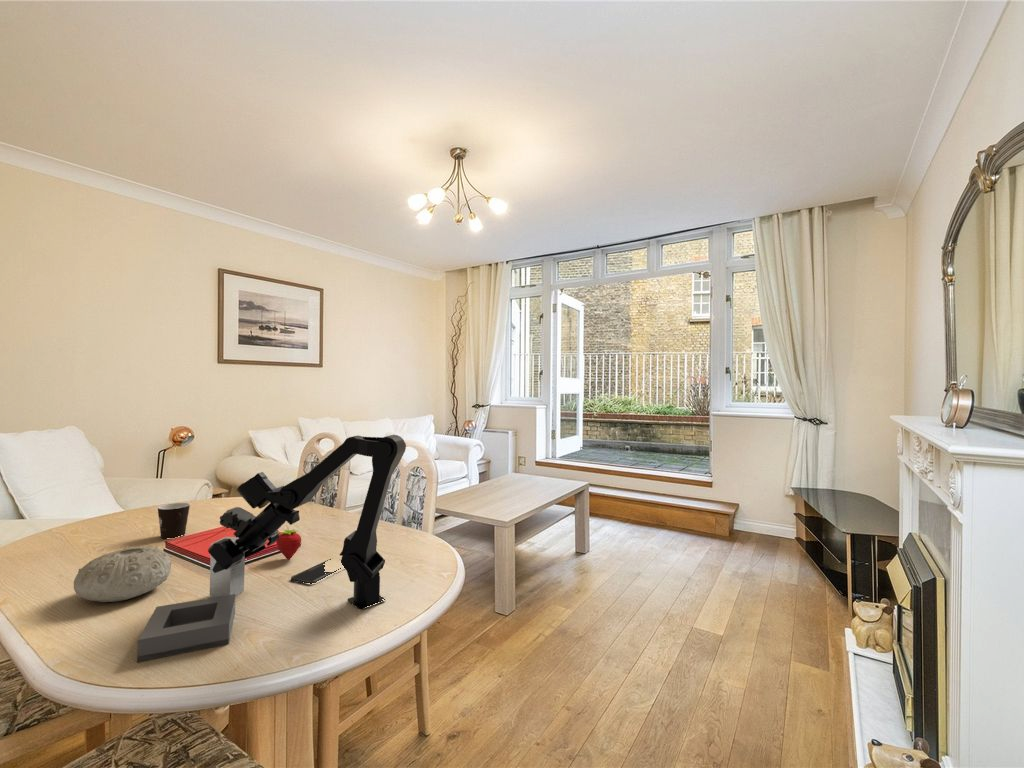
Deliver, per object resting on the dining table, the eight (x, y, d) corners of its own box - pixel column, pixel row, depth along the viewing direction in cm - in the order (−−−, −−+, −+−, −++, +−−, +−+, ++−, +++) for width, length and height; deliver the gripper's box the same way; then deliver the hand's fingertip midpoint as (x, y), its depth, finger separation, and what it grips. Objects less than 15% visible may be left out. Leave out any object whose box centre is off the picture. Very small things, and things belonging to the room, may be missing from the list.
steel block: (244, 590, 110) (245, 537, 111) (229, 600, 105) (231, 544, 106) (224, 590, 111) (225, 536, 111) (209, 599, 106) (210, 543, 106)
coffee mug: (160, 533, 152) (161, 504, 153) (191, 531, 156) (192, 501, 156) (150, 544, 142) (151, 512, 142) (183, 541, 145) (184, 510, 146)
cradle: (235, 612, 100) (235, 593, 100) (228, 643, 87) (229, 623, 88) (156, 626, 94) (156, 606, 94) (136, 662, 81) (137, 640, 81)
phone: (353, 562, 128) (312, 582, 114) (353, 566, 128) (312, 587, 114) (331, 558, 131) (288, 577, 117) (331, 562, 131) (288, 581, 117)
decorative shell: (51, 615, 97) (53, 568, 98) (102, 581, 114) (103, 541, 115) (149, 606, 102) (150, 561, 102) (183, 575, 119) (184, 537, 119)
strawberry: (288, 565, 127) (289, 529, 127) (270, 560, 130) (271, 525, 131) (306, 558, 133) (307, 524, 133) (288, 554, 136) (289, 520, 136)
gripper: (269, 489, 118) (227, 530, 118) (217, 507, 99) (168, 555, 100) (297, 520, 117) (255, 561, 117) (251, 544, 98) (201, 593, 99)
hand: (222, 566), depth 108 cm, fingers closed on steel block, 5 cm apart
